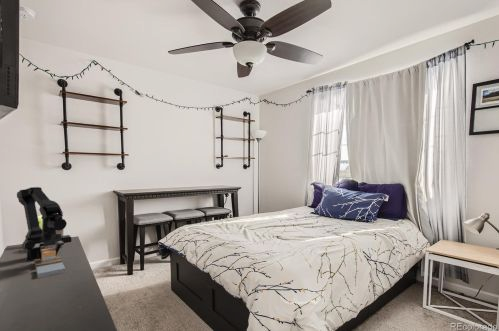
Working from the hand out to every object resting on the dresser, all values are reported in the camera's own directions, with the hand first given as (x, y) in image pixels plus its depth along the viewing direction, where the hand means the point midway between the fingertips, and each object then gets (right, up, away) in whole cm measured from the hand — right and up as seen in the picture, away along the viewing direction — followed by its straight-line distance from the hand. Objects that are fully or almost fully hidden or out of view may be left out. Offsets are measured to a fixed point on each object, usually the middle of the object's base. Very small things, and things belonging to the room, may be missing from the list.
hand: (48, 258), depth 129 cm
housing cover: (0, +1, 0) cm, 2 cm away
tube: (-29, -3, +29) cm, 41 cm away
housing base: (0, -1, 0) cm, 1 cm away
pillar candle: (-18, -3, +26) cm, 32 cm away
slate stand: (+9, -3, -9) cm, 13 cm away
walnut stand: (0, -3, 0) cm, 3 cm away
